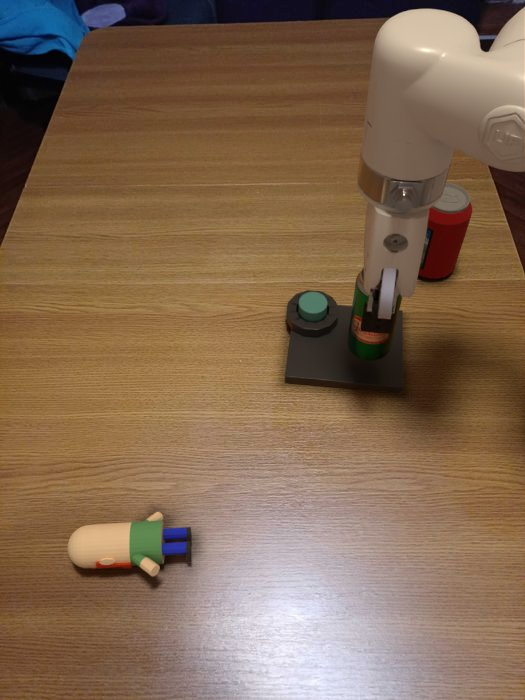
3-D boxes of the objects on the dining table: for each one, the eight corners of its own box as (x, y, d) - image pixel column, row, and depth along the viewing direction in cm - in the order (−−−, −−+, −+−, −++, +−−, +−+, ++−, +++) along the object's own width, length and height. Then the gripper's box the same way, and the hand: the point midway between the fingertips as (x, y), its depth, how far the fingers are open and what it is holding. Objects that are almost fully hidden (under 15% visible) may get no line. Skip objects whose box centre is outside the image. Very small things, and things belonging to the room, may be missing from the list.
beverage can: (406, 245, 88) (422, 176, 79) (454, 251, 88) (476, 182, 78) (403, 279, 85) (419, 211, 75) (453, 285, 84) (476, 217, 74)
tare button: (327, 301, 79) (328, 292, 78) (325, 323, 77) (326, 314, 75) (299, 299, 79) (300, 290, 78) (297, 321, 77) (297, 312, 76)
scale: (400, 312, 81) (404, 297, 79) (401, 393, 73) (405, 379, 71) (289, 303, 82) (289, 288, 80) (278, 382, 75) (278, 368, 72)
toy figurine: (192, 529, 66) (78, 535, 65) (190, 496, 64) (72, 503, 63) (191, 590, 59) (63, 599, 58) (188, 555, 57) (56, 564, 56)
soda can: (341, 356, 72) (350, 286, 62) (353, 324, 75) (364, 253, 65) (383, 368, 71) (400, 299, 61) (394, 336, 73) (411, 264, 64)
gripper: (452, 243, 47) (411, 377, 62) (442, 117, 57) (409, 257, 72) (354, 236, 48) (337, 370, 63) (361, 112, 58) (345, 252, 73)
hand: (376, 308), depth 67 cm, fingers closed on soda can, 5 cm apart
